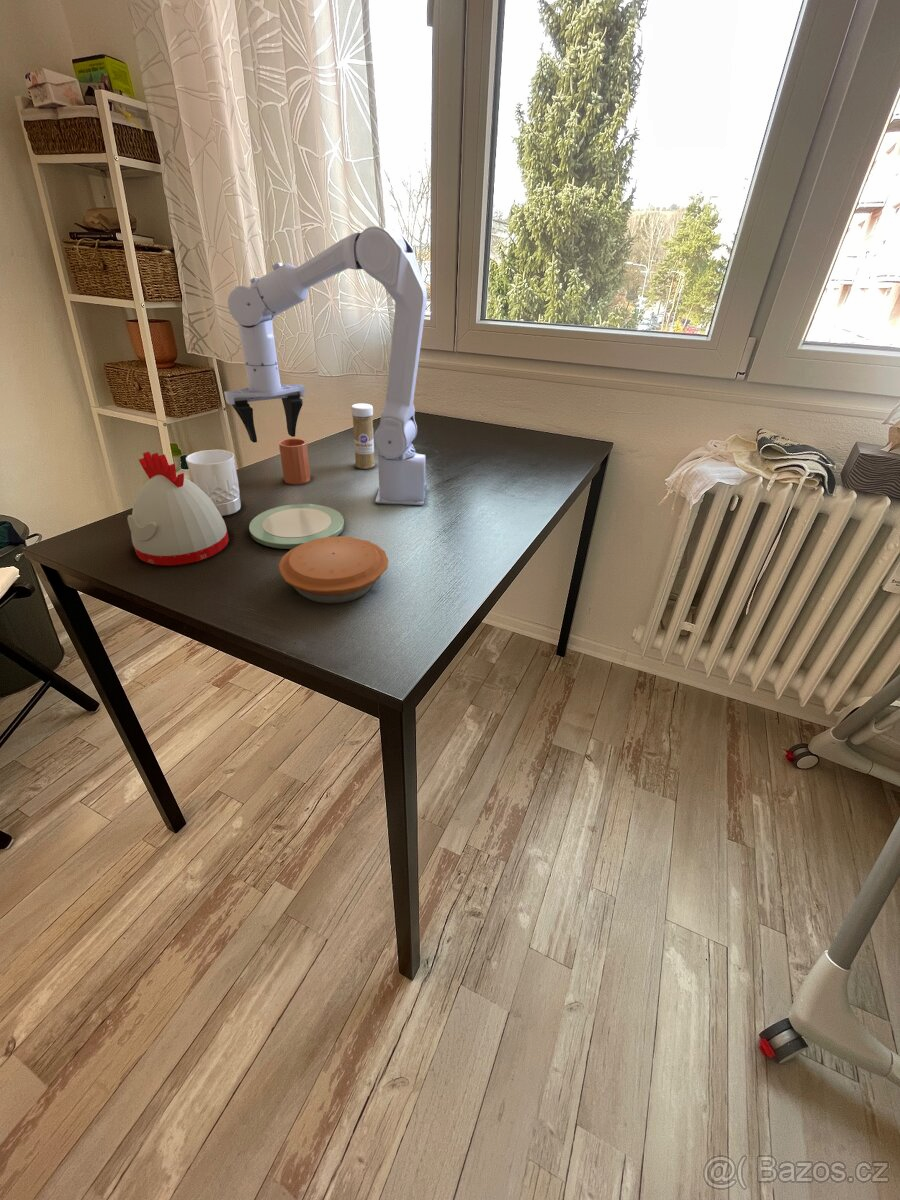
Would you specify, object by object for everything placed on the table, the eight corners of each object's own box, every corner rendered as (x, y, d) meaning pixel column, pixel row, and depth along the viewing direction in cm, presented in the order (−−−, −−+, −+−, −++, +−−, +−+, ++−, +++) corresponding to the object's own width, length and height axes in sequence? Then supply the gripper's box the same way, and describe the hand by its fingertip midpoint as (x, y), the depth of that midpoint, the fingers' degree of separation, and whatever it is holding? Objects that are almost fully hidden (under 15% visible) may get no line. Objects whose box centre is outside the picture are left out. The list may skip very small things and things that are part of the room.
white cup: (229, 520, 92) (217, 466, 86) (190, 515, 93) (175, 461, 87) (252, 503, 98) (242, 451, 92) (215, 498, 99) (203, 447, 93)
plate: (351, 511, 96) (350, 505, 96) (334, 552, 83) (334, 545, 82) (266, 508, 96) (265, 501, 95) (236, 549, 83) (234, 541, 82)
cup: (313, 475, 111) (308, 438, 106) (307, 485, 106) (302, 447, 102) (288, 474, 111) (283, 437, 106) (281, 484, 106) (275, 446, 102)
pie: (271, 613, 69) (264, 582, 66) (294, 556, 82) (289, 528, 79) (385, 613, 70) (384, 582, 67) (390, 557, 83) (389, 529, 80)
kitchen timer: (188, 519, 91) (164, 434, 83) (246, 536, 87) (228, 449, 78) (116, 551, 81) (81, 459, 72) (178, 573, 76) (149, 477, 68)
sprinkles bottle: (358, 470, 115) (354, 408, 107) (353, 463, 118) (348, 403, 110) (377, 468, 116) (375, 407, 109) (372, 461, 120) (369, 402, 112)
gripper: (291, 357, 99) (300, 428, 107) (213, 362, 92) (229, 438, 99) (305, 363, 94) (314, 436, 102) (225, 369, 87) (240, 448, 95)
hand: (273, 438), depth 100 cm, fingers open, 7 cm apart
